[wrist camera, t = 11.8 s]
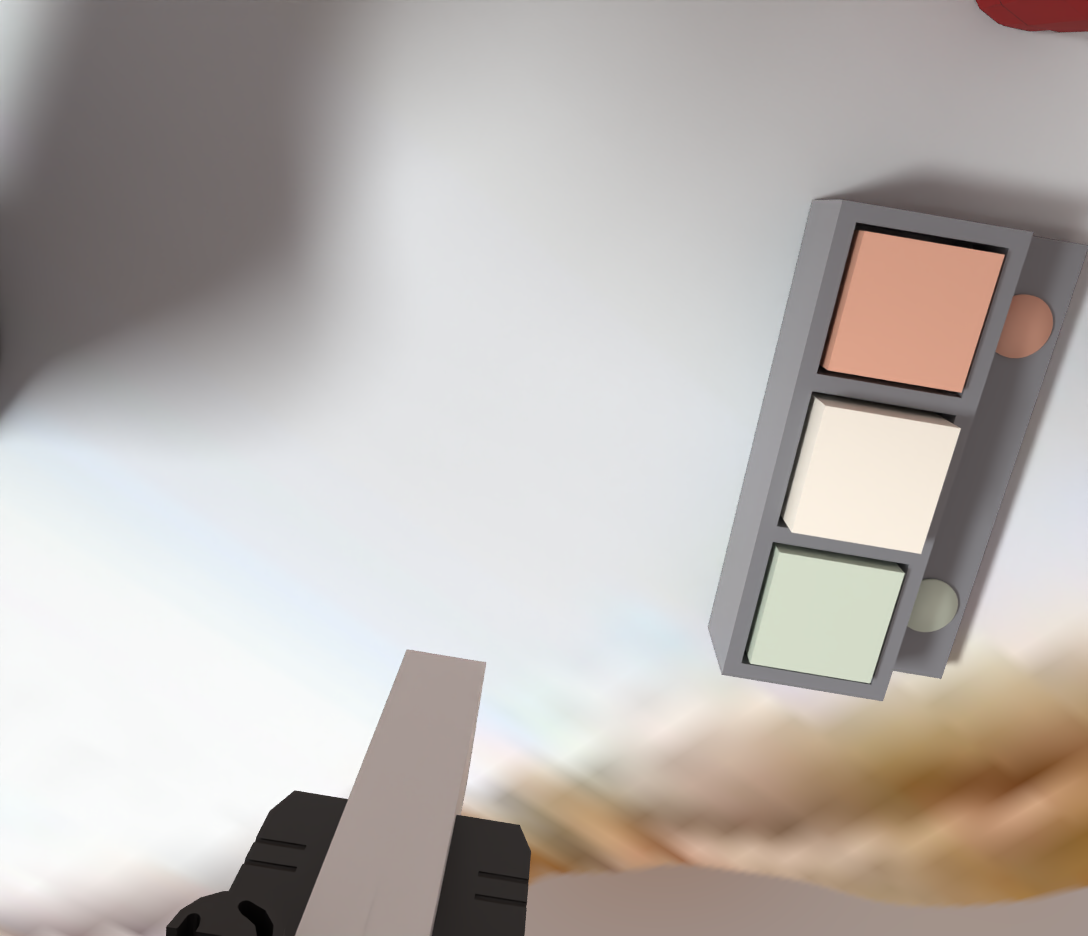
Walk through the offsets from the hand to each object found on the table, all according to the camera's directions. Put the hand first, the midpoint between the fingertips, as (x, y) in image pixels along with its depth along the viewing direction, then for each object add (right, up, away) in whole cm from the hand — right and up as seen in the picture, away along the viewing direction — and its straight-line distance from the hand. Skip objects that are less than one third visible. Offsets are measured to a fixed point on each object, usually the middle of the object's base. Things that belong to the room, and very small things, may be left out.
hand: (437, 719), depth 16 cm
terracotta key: (+18, +12, +24) cm, 32 cm away
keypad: (+19, +6, +28) cm, 35 cm away
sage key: (+16, -2, +28) cm, 32 cm away
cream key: (+17, +5, +25) cm, 31 cm away
